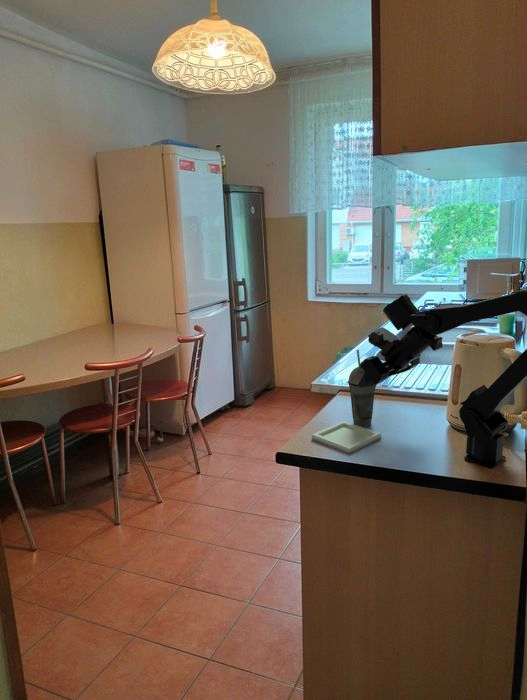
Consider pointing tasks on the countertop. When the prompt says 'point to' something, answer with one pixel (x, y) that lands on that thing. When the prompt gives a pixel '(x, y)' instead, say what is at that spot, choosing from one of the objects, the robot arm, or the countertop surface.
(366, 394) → the beverage cup
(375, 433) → the tray
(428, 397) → the countertop surface
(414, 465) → the countertop surface
